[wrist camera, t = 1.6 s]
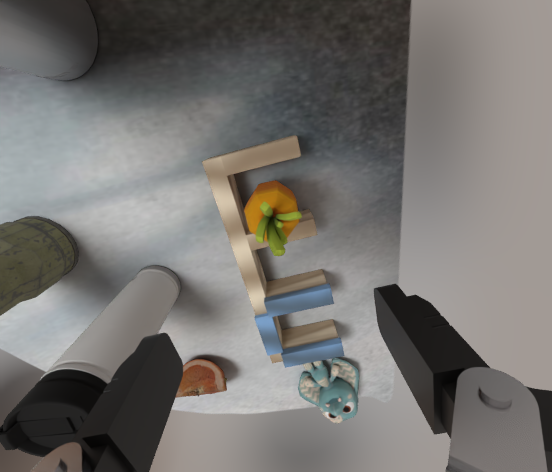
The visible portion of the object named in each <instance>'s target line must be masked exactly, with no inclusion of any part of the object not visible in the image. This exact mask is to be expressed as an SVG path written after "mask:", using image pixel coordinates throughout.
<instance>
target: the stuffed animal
mask: <svg viewBox="0 0 552 472" xmlns="http://www.w3.org/2000/svg"><path fill="white" fill-rule="evenodd" d="M313 364H314V365H315V366H316V367H315V368H314V366H313ZM313 364H312V362H311V363H306V364H303V365H304V367H305V369H306V370H307V371H308V372H310V373H305V372H303V373H302V375H301V377H300V381H299V386H298V390H299V393H300V396H301V397H302V398H304V399H305V400H306V401H309V402H311V403H313V404H315V405H317V406H319V408H320V410H321V412H322V413H323V414H324V416H325V417H326V418H328V419H329V420H331V421H332V422H334V423H340V422H342V421H344V420H347V419H349V418H352V417H354V416H355V415H356V413H357V409H358V407H357V406H358V405H357V404H358V383H359V373H358V369H357V368H355V367H354V366H352V365H351V364H350V363H348V362H347V361H345V360H342V359H338V358H333V359H332V363H331V366H330V368H331V376H329V373H328V369H327V368H326V367H325V366H324V365H323V361H322V360H321V361H316V362H313ZM336 376H337V377H339V378H336Z"/></svg>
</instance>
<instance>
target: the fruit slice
mask: <svg viewBox="0 0 552 472" xmlns="http://www.w3.org/2000/svg"><path fill="white" fill-rule="evenodd" d="M226 380H227V378H225V375H224V372H223V370H222V369H221V368H220V367H219V366H218V365H216V364H215V363H213V362H211V361H208V360H204V359H195V360H192V361H189V362H187V363H186V364H185V365H183V377H182V380H181V383H180V386H179V389H178V391H177V394H176V397H183V396H185V397H186V396H196V395H198V396H199V395H203V394H212V393H217V392H223V391H226V390H227V388H226ZM176 397H175V398H176Z"/></svg>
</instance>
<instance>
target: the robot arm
mask: <svg viewBox="0 0 552 472" xmlns="http://www.w3.org/2000/svg"><path fill="white" fill-rule="evenodd" d="M97 46H98V34H97V27H96V23H95V19H94V16H93V14H92V12H91V9H90V7H89V5H88V3H87V2H86V0H0V67H2V68H6V69H11V70H15V71H19V72H23V73H27V74H32V75H36V76H38V77H43V78H49V79H54V80H63V81H66V80H72V79H75V78H77V77H80V76H82V75H83V74H84V73H85V72H86V71H88V70H89V68H90V67H91V65H92V64H93V62H94V59H95V56H96V53H97ZM374 298H375V306H376V314H377V322H378V326H379V330H380V333H381V335H382V337H383V339H384V341H385V343H386V345H387V347H388V349H389V351H390V353H391V354H392V356H393V358H394V360H395V362H396V364H397V366H398V368H399V369H400V371H401V373H402V375H403V377H404V379H405V380H406V382H407V384H408V386H409V388H410V390H411V392H412V393H413V396H414V397H415V399H416V401H417V403H418V405H419V407H420V408H421V410H422V412H423V414H424V416H425V418H426V420H427V422H428V424H429V425H430V427H431V429H432V431H433V433H434V434H440V433H446V432H447V434H448V435H449V437H450V439H451V443H450V451H449V459H448V466H447V467H446V472H552V391H548V390H539V389H533V388H529V387H526V386H524V385H523V384H522V383H521V382H520V381H518V380H516V379H515V378H514V377H511V376H510V375H508V374H506V373H504V372H501V371H498V370H495V369H491V368H490V367H489V366H488V365H487V364H486V363H485V362H484V361H483V360H482V359H481V357H479V355H478V354H477V353H476V352H475V351H474V350H473V349H472V348H471V347H470V346H469V344H468V343H467V342H466V341H465V340H464V339H463V338H462V337H461V336H460V335H459V334H458V332H457V331H455V329H454V328H453V327H452V326H450V325H449V323H448V322H447V321H446V319H445V318H444V317H443V316H441V315H440V313H439V312H438V311H437V310H436V308H435V307H434V306H433V305H432V304H431V303H430V302H428V301H426V300H424V299H422V298H421V297H419V296H417V295H412V296H406V295H405V294H404V293H403V291H402V290H401V289H400V288H399V286H398V285H397V284H392V285H387V286H382V287H378V288H374ZM182 377H183V363H182V360H181V358H180V356H179V354H178V353H177V351H176V349H175V347H174V345H173V343H172V341H171V339H170V337H169V336H168V334H166V333H160V334H155V335H151V336H146V337H144V338H143V339H142V340H141V342H140V343H139V345H138V347H137V348H136V350H135V351H134V353H132V354H131V355H130V356H129V357H128V358H127V359H126V360H125V361H124V362H123V363H122V364H121V365H120V366H119V368H118V369H117V371H116V372H115V374H114V375H113V377H112V379H111V382H109V383H108V385H107V386H106V388H105V389H104V391H103V392H104V393H103V394H101V396H100V397H99V399H98V400H97V402H96V404H95V405H94V407H93V408H92V410H91V411H90V413H89V415H88V416H87V418H86V419H85V421H84V422H83V424H82V426H81V427H80V429H79V430H78V432H77V433H76V435H75V437H74V438H73V440H72V441H71V443H67V444H64V445H62V446H60V447H58V448H56V449H55V450H53V451H52V452H50V453H49V454H48V455H46V456H45V457H44V458H43V459H42V460H41V461H40V462H39V463H38V464H37V465H36V466H35V467H34V468H33V469H32V470H31V472H149V470H150V467H151V465H152V461H153V459H154V456H155V453H156V450H157V448H158V445H159V442H160V439H161V436H162V434H163V431H164V428H165V425H166V422H167V419H168V417H169V414H170V411H171V408H172V405H173V403H174V400H175V397H176V394H177V391H178V389H179V386H180V383H181V380H182Z"/></svg>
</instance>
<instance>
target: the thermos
mask: <svg viewBox="0 0 552 472" xmlns="http://www.w3.org/2000/svg"><path fill="white" fill-rule="evenodd" d="M77 262H78V249H77V246H76V242H75V241H74V240H73V238H72V237H71V235H70V234H69V233H68V232H67V231H66V230H65V229H64V228H63V227H62V226H61V225H59V224H57V223H55V222H53V221H51V220H49V219H46V218H42V217H25V218H22V219H19V220H16V221H14V222H6V223H4V224H1V225H0V316H1V315H2V314H4V313H5V312H7V311H8V310H9V309H11V308H12V307H14V306H15V305H17V304H18V303H20V302H22V301H26V300H29V299H32V298H35V297H37V296H38V295H40V294H41V293H42V292H44V291H45V290H47V289H48V288H49V287H51V286H52V285H54V284H55V283H56V282H57V281H59V280H60V279H61V278H62V276H63V275H66V274H67V273H68V272H70V271H71V270H72V269H73V268H74V267H75V265H76V263H77Z"/></svg>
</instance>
